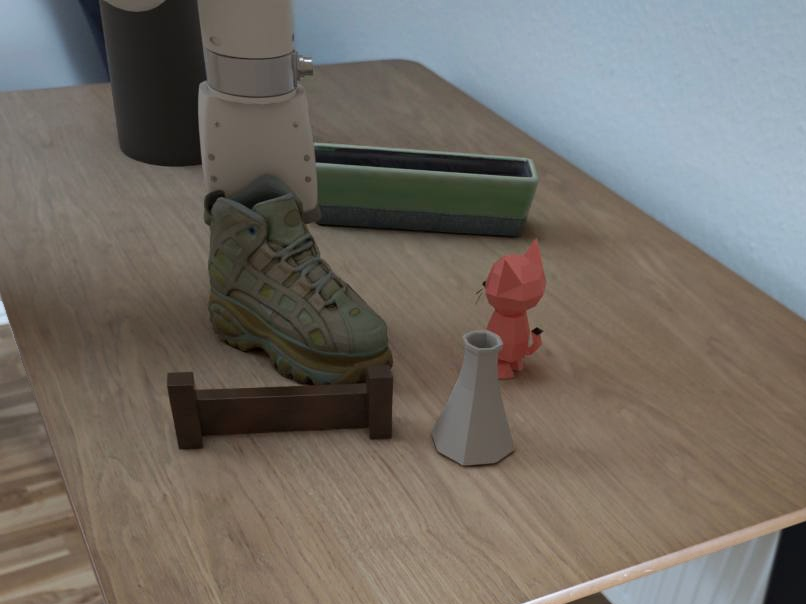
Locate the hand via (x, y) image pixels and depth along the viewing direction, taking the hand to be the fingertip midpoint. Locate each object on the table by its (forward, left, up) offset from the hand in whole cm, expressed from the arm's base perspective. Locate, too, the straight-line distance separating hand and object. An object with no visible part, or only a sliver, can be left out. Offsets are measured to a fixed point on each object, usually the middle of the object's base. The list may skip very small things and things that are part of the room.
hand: (269, 280), depth 89 cm
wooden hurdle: (0, -21, -3) cm, 21 cm away
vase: (-10, +45, -4) cm, 47 cm away
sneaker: (+2, -8, -4) cm, 9 cm away
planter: (+19, +21, -4) cm, 29 cm away
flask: (+16, -25, -4) cm, 30 cm away
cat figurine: (+22, -13, -4) cm, 25 cm away
